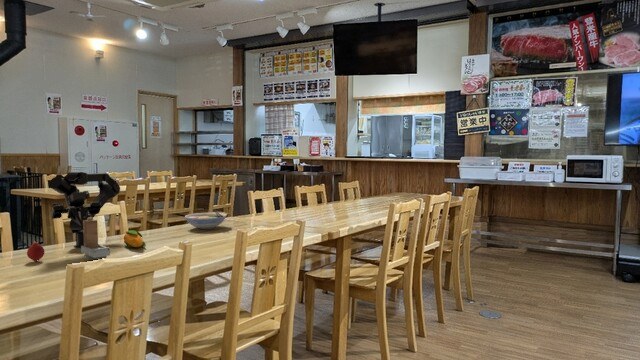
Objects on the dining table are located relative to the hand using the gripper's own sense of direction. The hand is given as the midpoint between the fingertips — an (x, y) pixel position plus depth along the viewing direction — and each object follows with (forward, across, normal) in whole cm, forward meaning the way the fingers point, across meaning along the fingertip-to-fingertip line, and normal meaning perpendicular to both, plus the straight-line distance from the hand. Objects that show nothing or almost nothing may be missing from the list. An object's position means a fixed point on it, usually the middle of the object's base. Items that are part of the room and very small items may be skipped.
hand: (81, 225), depth 192 cm
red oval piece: (+9, -18, +8) cm, 21 cm away
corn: (+11, +21, +7) cm, 25 cm away
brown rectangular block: (+12, +1, 0) cm, 12 cm away
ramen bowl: (-4, +69, +23) cm, 73 cm away
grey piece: (+18, +1, -1) cm, 18 cm away
